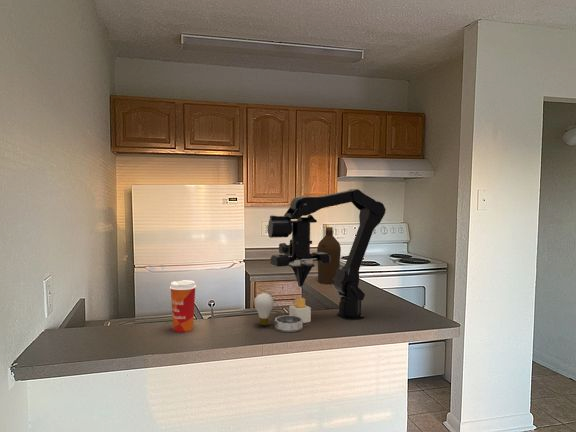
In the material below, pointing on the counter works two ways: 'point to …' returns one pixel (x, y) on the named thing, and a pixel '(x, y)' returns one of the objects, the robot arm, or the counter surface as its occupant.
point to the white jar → (301, 313)
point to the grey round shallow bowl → (288, 323)
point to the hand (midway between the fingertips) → (300, 286)
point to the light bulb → (263, 307)
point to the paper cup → (183, 305)
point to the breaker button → (300, 302)
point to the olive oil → (334, 250)
